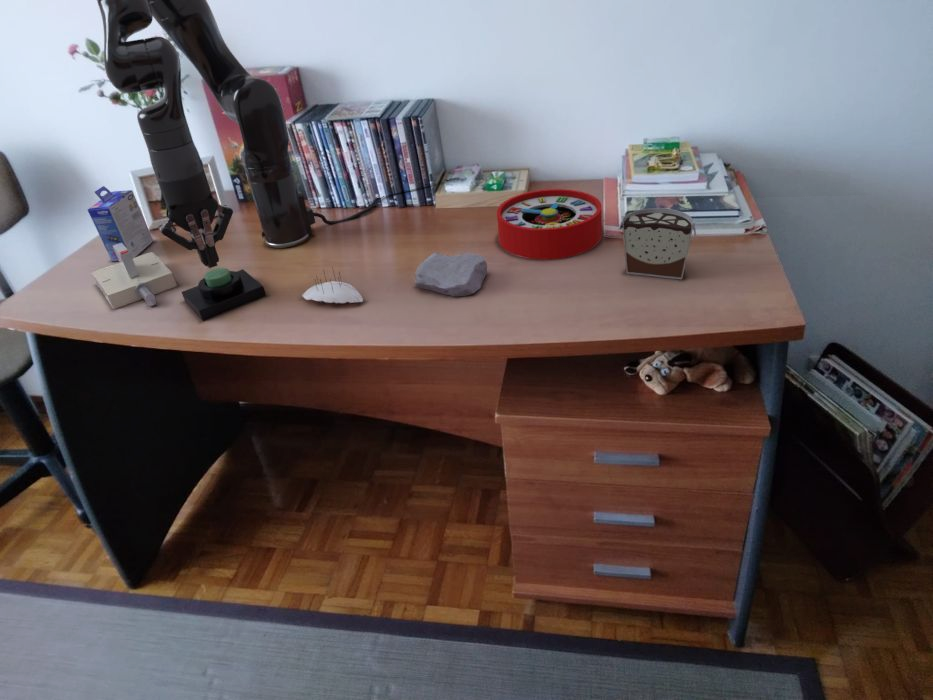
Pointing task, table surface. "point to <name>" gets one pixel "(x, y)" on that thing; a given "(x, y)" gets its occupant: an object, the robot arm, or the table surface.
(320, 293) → the pincushion
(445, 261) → the stone block
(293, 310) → the table surface
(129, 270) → the pale grey rectangular block
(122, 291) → the block
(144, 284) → the spout
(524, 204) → the toy clock
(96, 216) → the ink cartridge box
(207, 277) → the push button
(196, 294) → the button housing
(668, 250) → the food container
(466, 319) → the table surface
